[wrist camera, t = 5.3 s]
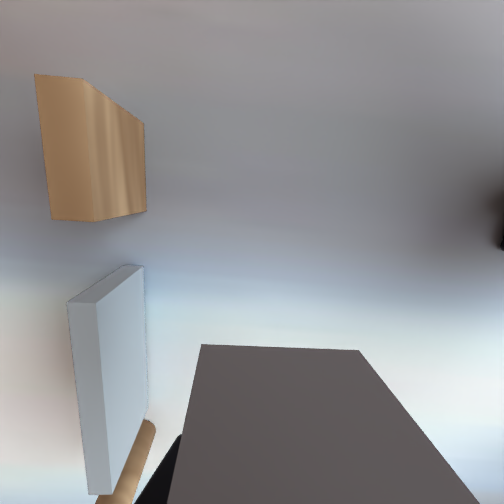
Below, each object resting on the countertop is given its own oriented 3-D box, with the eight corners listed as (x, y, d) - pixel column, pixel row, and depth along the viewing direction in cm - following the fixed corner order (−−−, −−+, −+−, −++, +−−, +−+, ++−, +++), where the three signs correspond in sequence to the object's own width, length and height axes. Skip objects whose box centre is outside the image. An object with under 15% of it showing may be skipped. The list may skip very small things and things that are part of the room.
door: (143, 265, 16) (95, 303, 11) (148, 407, 18) (112, 494, 13) (107, 264, 16) (41, 301, 10) (117, 407, 18) (68, 495, 13)
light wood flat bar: (147, 123, 14) (65, 61, 7) (156, 440, 20) (113, 572, 13) (111, 120, 14) (-6, 54, 7) (130, 440, 19) (72, 573, 13)
